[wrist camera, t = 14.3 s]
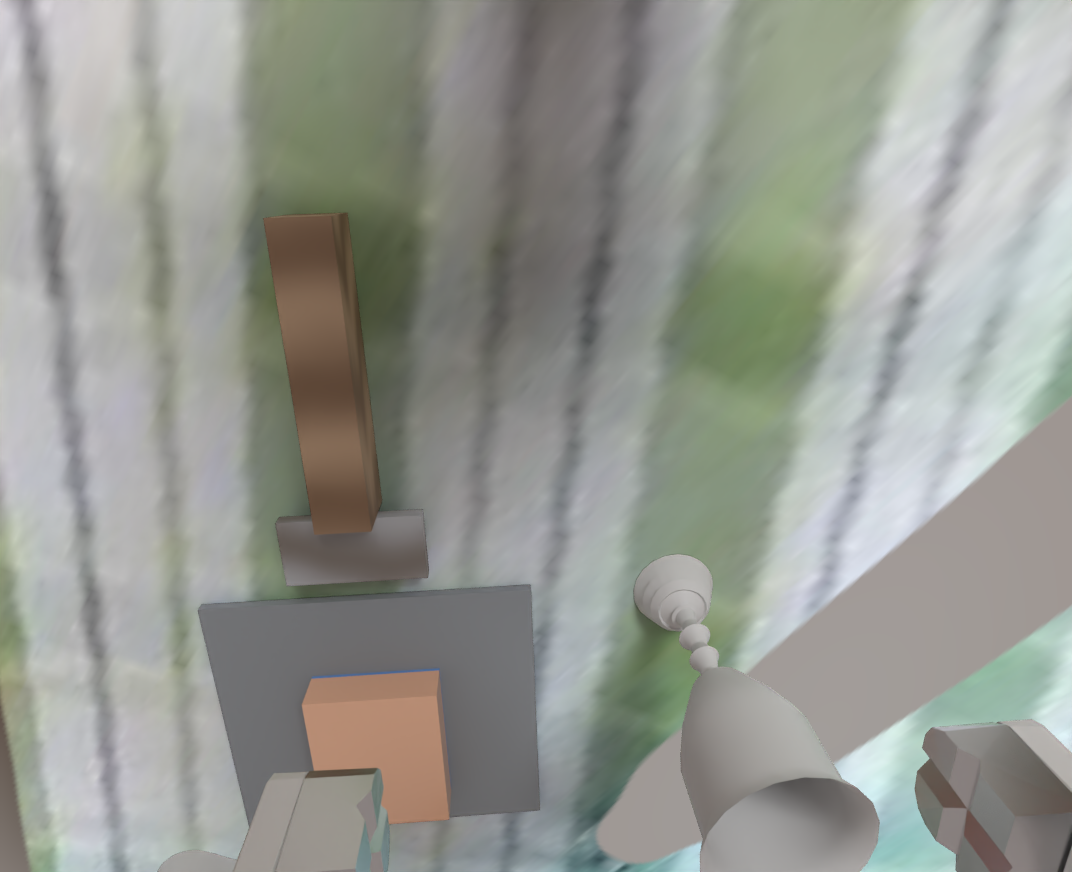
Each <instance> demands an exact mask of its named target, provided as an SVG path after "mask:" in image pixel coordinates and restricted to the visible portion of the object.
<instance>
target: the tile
mask: <svg viewBox="0 0 1072 872" xmlns="http://www.w3.org/2000/svg"><path fill="white" fill-rule="evenodd" d="M302 709H303V715H304V720H305V725H306V731H307V736H308V741H309V747H310V752H311V757H312V762H313V768H314V771H318V770H340V769H362V768H379V769H380V770H381V774H382V780H383V785H384V789H383V795H382V801H381V806H382V807H384V808H385V809H386V810H387V813H388V821H389V824H398V823H411V822H425V821H438V820H449V816H450V802H451V779H450V768H449V758H448V748H447V738H446V728H445V718H444V708H443V698H442V688H441V677H440V668H436V669H421V670H405V671H390V672H375V673H360V674H345V675H329V676H314V677H312V678H311V681H310V684H309V686H308V689H307V692H306V694H305V697H304V700H303V703H302Z"/></svg>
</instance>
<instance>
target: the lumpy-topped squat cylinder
mask: <svg viewBox="0 0 1072 872" xmlns="http://www.w3.org/2000/svg"><path fill="white" fill-rule="evenodd" d="M236 862H237V859H231V858H227V857H224V856H221V855H217V854H214V853H210V852H206V851H200V850H188V851H183V852H180V853H177V854H175V855H173V856H171V857H170V858H168V859H167V860H166V861H165V862H164V863H163V864H162V865H161V866H160V868H159V869H158V871H157V872H233V870H234V867H235V864H236Z"/></svg>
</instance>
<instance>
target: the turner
mask: <svg viewBox="0 0 1072 872" xmlns="http://www.w3.org/2000/svg"><path fill="white" fill-rule="evenodd" d="M263 220H264V226H265V232H266V238H267V245H268V251H269V257H270V263H271V269H272V276H273V282H274V288H275V294H276V301H277V307H278V313H279V319H280V325H281V332H282V338H283V344H284V350H285V356H286V363H287V369H288V375H289V381H290V387H291V394H292V400H293V406H294V412H295V418H296V425H297V431H298V437H299V443H300V450H301V456H302V462H303V468H304V474H305V481H306V487H307V493H308V499H309V505H310V512H311V515H305V516H287V517H279V518H278V520H277V522H276V523H275V525H276V530H277V536H278V541H279V547H280V552H281V558H282V563H283V569H284V574H285V580H286V585H287V586H299V585H316V584H333V583H350V582H367V581H383V580H400V579H417V578H428V573H429V566H428V555H427V545H426V535H425V525H424V515H423V509H414V510H396V511H379V508H380V505H381V503H382V495H381V487H380V478H379V470H378V462H377V454H376V445H375V437H374V429H373V420H372V412H371V404H370V395H369V387H368V379H367V370H366V362H365V354H364V346H363V337H362V329H361V321H360V312H359V304H358V296H357V287H356V279H355V271H354V262H353V254H352V246H351V238H350V229H349V221H348V213H323V214H294V215H282V216H275V217H268V218H263Z"/></svg>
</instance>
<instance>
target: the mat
mask: <svg viewBox="0 0 1072 872" xmlns="http://www.w3.org/2000/svg"><path fill="white" fill-rule="evenodd" d="M198 614H199V618H200V622H201V626H202V631H203V635H204V639H205V643H206V647H207V652H208V656H209V660H210V664H211V668H212V672H213V677H214V681H215V685H216V689H217V693H218V698H219V702H220V706H221V710H222V714H223V719H224V723H225V727H226V731H227V735H228V739H229V744H230V748H231V752H232V756H233V760H234V765H235V769H236V773H237V777H238V781H239V786H240V790H241V794H242V798H243V802H244V806H245V811H246V815H247V819H248V823H249V827H250V825H251V822H252V820H253V817H254V814H255V812H256V809H257V806H258V804H259V801H260V798H261V796H262V793H263V791H264V788H265V785H266V783H267V782H268V780H269V779H270V778H271V777H272V775H273V774H274V773H290V772H309V771H314V768H313V762H312V757H311V752H310V747H309V741H308V736H307V731H306V725H305V720H304V715H303V709H302V703H303V700H304V697H305V694H306V692H307V689H308V686H309V684H310V681H311V678H312V677H314V676H329V675H345V674H360V673H375V672H390V671H405V670H421V669H436V668H440V677H441V688H442V698H443V708H444V718H445V728H446V738H447V748H448V758H449V768H450V779H451V802H450V816H449V817H457V816H471V815H484V814H497V813H511V812H524V811H537V810H540V801H539V776H538V751H537V726H536V701H535V676H534V651H533V627H532V602H531V585H516V586H500V587H483V588H466V589H450V590H433V591H417V592H400V593H384V594H367V595H351V596H334V597H317V598H301V599H284V600H268V601H251V602H235V603H218V604H202V605H201V606H200V608H199V609H198Z"/></svg>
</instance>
